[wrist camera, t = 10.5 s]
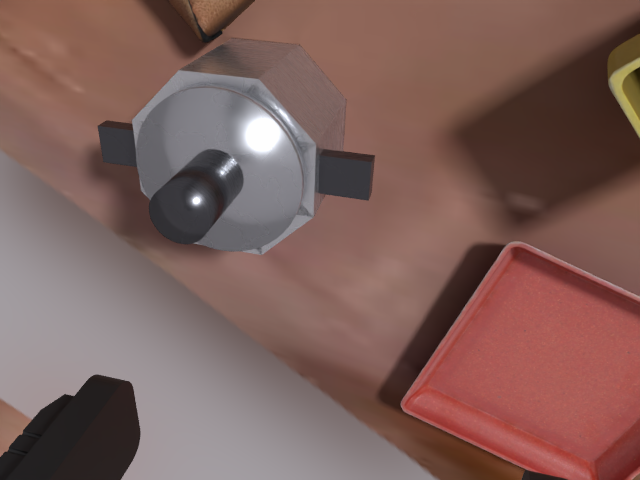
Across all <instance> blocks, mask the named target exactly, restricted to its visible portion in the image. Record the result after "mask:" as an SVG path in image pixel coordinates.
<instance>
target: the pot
mask: <svg viewBox="0 0 640 480" xmlns="http://www.w3.org/2000/svg"><path fill="white" fill-rule="evenodd" d="M204 83H216V84H224V85H230V86H233V87H236V88H239V89H243V90H245V91H247V92H249V93H251V94H253V95H255V96H257V97H258V98H260V99H261V100H263V101H264V102H266V103H267V104H268V105H269V106H271V107H272V108H273V109H274V110H275V111H276V112H277V113H278V114H279V115H280V116H281V117H282V118H283V119H284V120H285V122H286V123H287V124H288V126H289V127H290V128H291V130H292V132H293V133H294V135H295V137H296V138H297V141H298V143H299V145H300V147H301V150H302V153H303V156H304V160H305V166H306V176H307V183H306V192H305V195H304V199H303V202H302V205H301V207H300V209H299V211H298V213H297V214H296V216H295V218H294V219H293V221H292V223H291V224H290V226H289V227H288V228H287V229H286V230H285V232H284V233H283V234H282V235H280V236H279V237H278V238H277V239H275V240H274V241H272V242H270V243H269V244H267V245H264V246H262V247H260V248H256V249H252V250H247V251H242V252H248V253H254V254H260V255H262V254H264V253H265V252H266V251H268V250H269V249H270V248H272V247H273V246H275V245H276V244H277V243H279V242H280V241H281V240H283V239H284V238H285V237H287V236H288V235H290V234H291V233H292V232H294V231H295V230H296V229H298V228H299V227H301V226H302V225H303V224H305V223H306V222H307V221H309V220H310V219H312V218H313V217H314V216H315V214H316V212H317V210H318V208H319V206H320V204H321V203H322V201H323V199H324V197H325V195H326V194H327V195H334V196H341V197H348V198H355V199H362V200H369V198H370V195H371V193H372V181H373V170H374V159H375V155H367V154H359V153H352V152H344V151H343V145H344V128H345V112H346V99H345V98H344V96H343V95H342V94H341V93H340V92H339V91H338V89H337V88H336V87H335V86H334V85H333V83H332V82H331V81H330V80H329V79H328V78H327V76H326V75H325V74H324V73H323V72H322V70H321V69H320V68H319V67H318V66H317V65H316V63H315V62H314V61H313V60H312V59H311V57H310V56H309V55H308V54H307V53H306V52H305V50H304V49H303V48H302V47H301V46H300V44H299V45H297V44H287V43H277V42H266V41H256V40H246V39H236V38H231V39H230V40H228V41H226V42H225V43H223V44H221V45H220V46H218V47H216V48H215V49H213V50H211V51H210V52H208V53H206V54H205V55H203V56H201V57H200V58H198V59H196V60H195V61H193V62H191V63H190V64H188V65H186V66H185V67H183V68H181V69H180V70H179V71H178V72H177V73H176V74H175V75H174V76H173V77H172V78H171V79H170V80H169V81H168V82H167V83H166V85H165V86H164V87H163V88H162V89H161V90H160V91H159V92H158V93H157V94H156V95H155V96H154V97H153V98H152V99H151V101H150V102H149V103H148V104H147V105H146V106H145V107H144V108H143V109H142V110H141V111H140V112H139V113H138V114H137V115H136V117H135V118H134V119H133V120H132V124H129V123H122V122H114V121H105V122H103V123H102V124H100V125H98V131H99V137H100V143H101V150H102V156H103V162H106V163H113V164H120V165H127V166H134V167H137V163H136V145H137V139H138V135H139V132H140V129H141V126H142V124H143V122H144V120H145V119H146V117H147V115H148V114H149V113H150V112H151V110H152V109H153V108H154V107H155V106H156V105H157V104H159V103H160V102H161V101H162V100H164V99H165V98H167V97H168V96H170V95H172V94H173V93H175V92H176V91H178V90H181V89H183V88H185V87H188V86H192V85H196V84H204ZM139 178H140V177H139ZM140 185H141V191H142V192H143V193H144V194H145V195H146V193H145V190H144V188H143V186H142V183H141V180H140ZM146 196H147V195H146ZM147 197H148V196H147ZM194 244H199V243H197V242H196V243H194ZM200 245H201V244H200Z"/></svg>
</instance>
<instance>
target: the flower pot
mask: <svg viewBox="0 0 640 480" xmlns="http://www.w3.org/2000/svg"><path fill="white" fill-rule="evenodd" d="M607 68H608V84H609V87H610V90H611V92H612V93H613V95H614V97H615V98H616V100H617V102H618V103H619V105H620V106H621V108H622V110H623V111H624V113H625V115H626V116H627V118H628V120H629V121H630V123H631V125H632V127H633V128H634V130H635V132H636V133H637V135H638V137H639V139H640V34H638V35H636V36H635V37H633V38H631V39H629V40H627V41H626V42H624V43H622V44H621V45H619V46H617V47H616V48H615V49H614V50H613V51H612V52H611V53H610V55H609V58H608V63H607Z"/></svg>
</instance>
